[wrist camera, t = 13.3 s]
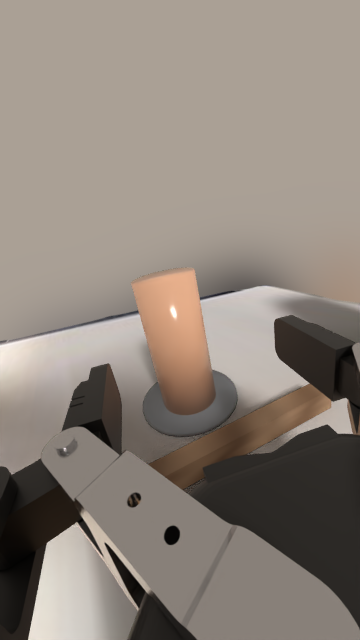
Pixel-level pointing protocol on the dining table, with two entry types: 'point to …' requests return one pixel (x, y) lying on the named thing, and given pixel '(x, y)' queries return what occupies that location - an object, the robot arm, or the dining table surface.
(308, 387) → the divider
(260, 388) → the dining table surface
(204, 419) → the coaster
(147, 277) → the peach cylinder
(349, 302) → the dining table surface
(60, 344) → the dining table surface
